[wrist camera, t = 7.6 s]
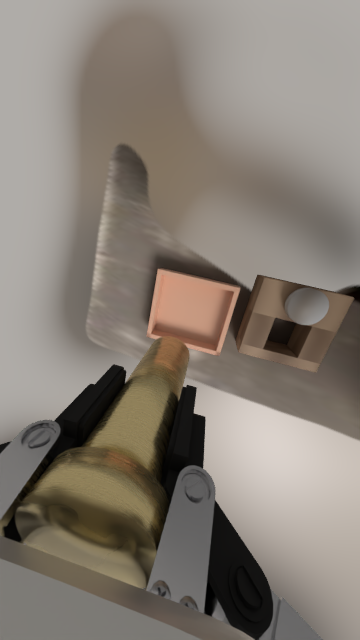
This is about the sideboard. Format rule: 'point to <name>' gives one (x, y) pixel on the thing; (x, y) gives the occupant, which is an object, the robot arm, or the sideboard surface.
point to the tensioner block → (296, 306)
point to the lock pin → (113, 477)
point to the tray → (192, 310)
